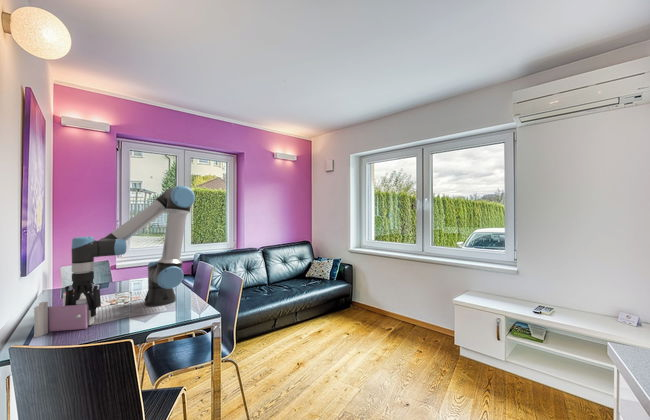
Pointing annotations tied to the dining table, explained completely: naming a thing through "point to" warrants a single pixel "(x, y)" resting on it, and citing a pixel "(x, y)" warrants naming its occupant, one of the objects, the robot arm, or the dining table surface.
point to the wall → (43, 318)
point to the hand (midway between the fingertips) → (83, 324)
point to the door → (67, 317)
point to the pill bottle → (83, 302)
